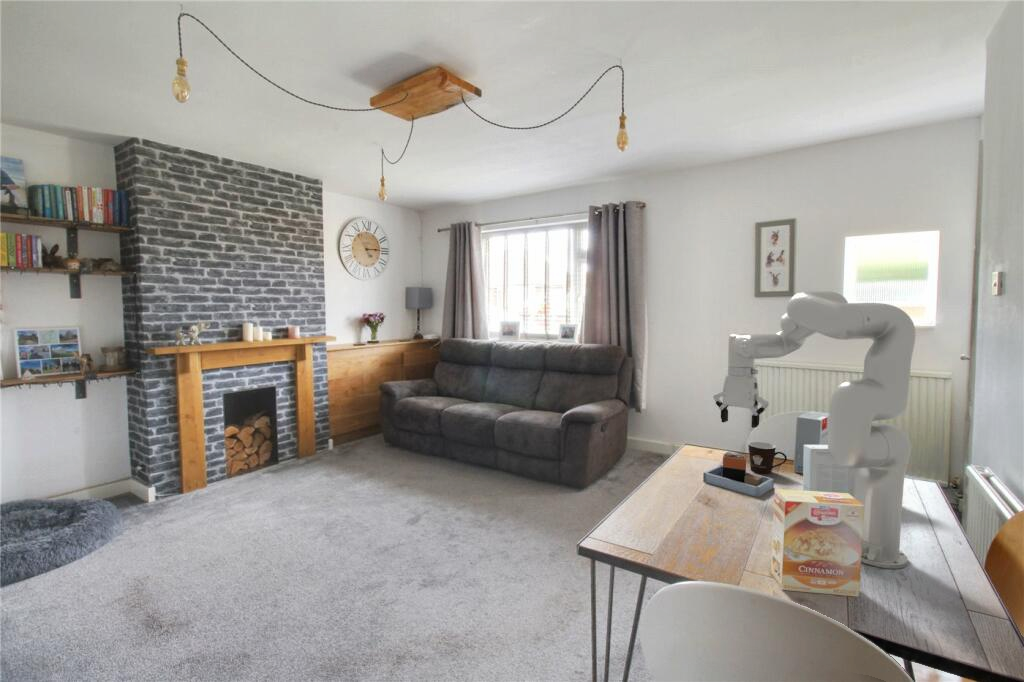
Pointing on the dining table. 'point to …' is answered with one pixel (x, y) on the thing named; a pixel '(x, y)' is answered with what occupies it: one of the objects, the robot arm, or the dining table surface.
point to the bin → (716, 478)
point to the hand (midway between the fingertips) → (739, 424)
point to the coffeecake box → (817, 542)
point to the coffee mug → (762, 457)
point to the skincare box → (824, 471)
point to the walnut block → (753, 480)
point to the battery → (734, 467)
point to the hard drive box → (809, 434)
